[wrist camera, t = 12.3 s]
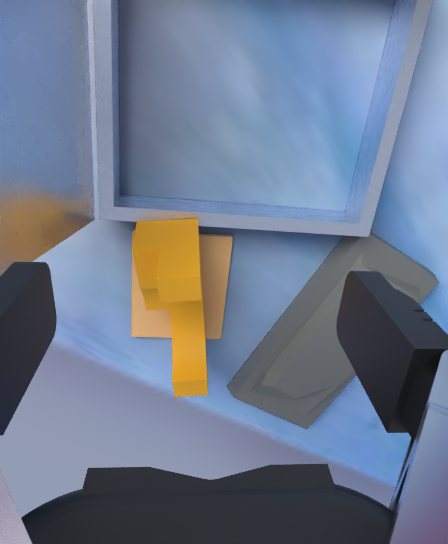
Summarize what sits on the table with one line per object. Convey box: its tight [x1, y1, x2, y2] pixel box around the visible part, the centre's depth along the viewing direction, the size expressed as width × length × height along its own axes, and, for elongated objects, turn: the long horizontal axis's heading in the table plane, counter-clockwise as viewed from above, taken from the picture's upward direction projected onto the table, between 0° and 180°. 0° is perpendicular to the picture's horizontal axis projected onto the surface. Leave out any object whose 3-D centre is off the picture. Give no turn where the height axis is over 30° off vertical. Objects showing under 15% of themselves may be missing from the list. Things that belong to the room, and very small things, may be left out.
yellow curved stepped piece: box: [132, 219, 208, 397], centre depth 31 cm, size 12×4×6 cm, turn 2°
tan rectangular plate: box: [132, 229, 233, 339], centre depth 35 cm, size 8×10×1 cm
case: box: [93, 0, 433, 237], centre depth 27 cm, size 20×19×3 cm
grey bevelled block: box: [227, 232, 439, 429], centre depth 38 cm, size 10×20×4 cm, turn 148°
